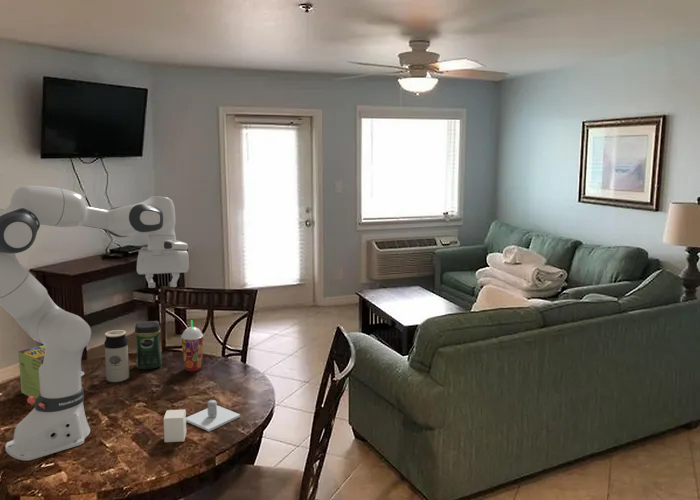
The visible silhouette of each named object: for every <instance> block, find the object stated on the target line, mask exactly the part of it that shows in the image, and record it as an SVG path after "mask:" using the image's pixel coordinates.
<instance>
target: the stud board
mask: <svg viewBox="0 0 700 500" xmlns="http://www.w3.org/2000/svg"><path fill="white" fill-rule="evenodd" d="M239 418H241V414H240V413H238V412H235V411H233V410H230V409H227V408H225V407H222V406H221V405H218V402H217V400H216V399H210V400H208V402H207V407H206V408H204V409H203V410H200V411H198V412H196V413H193V414H190V415H189V416H186V423H189V424H191V425H193V426H195V427H197V428H199V429H202V430H205V431H207V432H211V431H214V430H215V429H218V428H220V427H222V426H224V425H226V424H228V423H230V422H233V421H235V420H237V419H239Z"/></svg>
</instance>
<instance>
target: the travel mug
mask: <svg viewBox="0 0 700 500" xmlns="http://www.w3.org/2000/svg"><path fill="white" fill-rule="evenodd" d="M126 334H127V331H126V330H123V329H116V330H110V331H109V330H108V331H107V332H105V333H104V336H105V339H104V358H105V359H104V360H105V373H106V374H105V378H106V381H108V382H110V383H119V382H123V381H126V380H127V379H129V378H130V364H129V349H128V347H129V345H128V339H127V337H126Z"/></svg>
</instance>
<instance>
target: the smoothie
mask: <svg viewBox="0 0 700 500" xmlns="http://www.w3.org/2000/svg"><path fill="white" fill-rule="evenodd" d="M180 339H181V346H182V347H181V348H182V357H183V366H184V367H183V368H185V370H186V371H187V372H197V371H200V370H201V369H202V366H203V346H204V344H203V343H204V334H203V332H202V331H201V329H200V328H198V327H196V326H194V323H193V319H192V320H191V319H190V327H187V328H186V329H184V331H183V332H182V335H181V337H180Z"/></svg>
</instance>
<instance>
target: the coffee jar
mask: <svg viewBox="0 0 700 500" xmlns="http://www.w3.org/2000/svg"><path fill="white" fill-rule="evenodd" d="M160 334H161V326H160V321H158V320H149V321H148V320H147V321H137V322H136V324H135V327H134V336H135V338H136V368H137V369H139V370H149V369H150V370H151V369H157V368H159V367H161V366H162V364H163V360H162V359H163V357H162V352H161V347H160V345H161V344H160Z"/></svg>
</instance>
